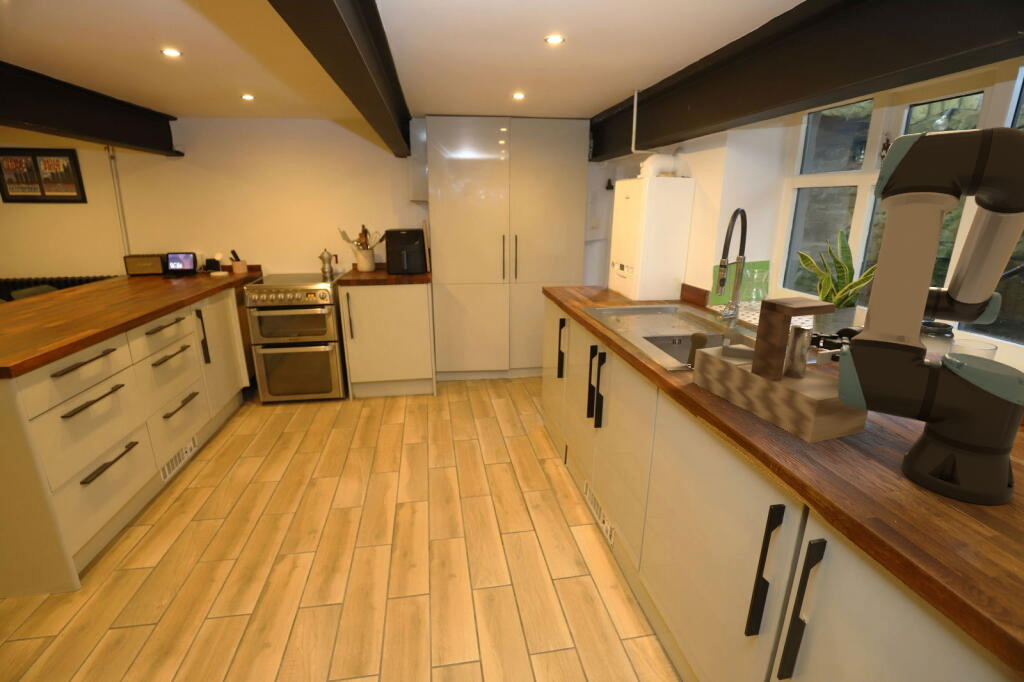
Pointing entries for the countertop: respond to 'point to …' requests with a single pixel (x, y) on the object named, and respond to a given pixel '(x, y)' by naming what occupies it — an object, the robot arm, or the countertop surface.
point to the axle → (798, 351)
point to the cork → (696, 346)
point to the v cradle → (731, 353)
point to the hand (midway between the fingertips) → (792, 349)
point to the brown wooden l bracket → (780, 332)
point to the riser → (783, 398)
